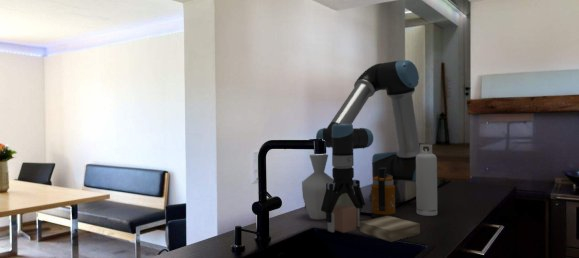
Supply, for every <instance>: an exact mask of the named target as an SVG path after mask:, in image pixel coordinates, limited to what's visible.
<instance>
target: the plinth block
mask: <svg viewBox="0 0 579 258" xmlns="http://www.w3.org/2000/svg"><path fill="white" fill-rule="evenodd" d="M359 233H361V234H365V235H368V236H370V237H374V238H377V239H381V240H383V241H386V242H390V243H393V242H396V241H399V240H400V239H401V240H404V239H407V237H408V238H411V237H415V236H419V235H421V223H419V222H414V221H411V220H406V219H403V218H399V217H396V216H395V217H391V216H385V217H380V218H372V219H368V220H362V221H360V226H359ZM401 240H400V241H401Z"/></svg>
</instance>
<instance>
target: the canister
mask: <svg viewBox="0 0 579 258" xmlns="http://www.w3.org/2000/svg"><path fill="white" fill-rule="evenodd" d="M386 171H387V169H386V167H380V169H379V172H378V176H377V177H374V178H373V177H372V184H371V186H370V187H371V189H370V193H371V192H372V202H371V217H373V219H375V218H380V217H385V216H391V217H395V218H396V204H395V186H394V185H393V178H392V176H391V175H389V177H388V174H387V173H386ZM386 175H387V176H386Z"/></svg>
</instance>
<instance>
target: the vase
mask: <svg viewBox="0 0 579 258" xmlns="http://www.w3.org/2000/svg"><path fill="white" fill-rule="evenodd" d="M316 154H317V153H316ZM316 154H313V153H312V154H309V158H310V161H311V165H312V168H313V169H312V170H313V172H312V173H311V174H310V175H308V176H307V177H306V178H305V179H304V180H303V181H301V190H302V200H303V203H304V206H305V208H306V211H307V214H308V216H309V218H310V219H311V220H319V221H320V220H326V212H323V211H321V207H322V204H323V200H324V196H325V192H326V184H327V183H333V181H334V179H333V177H332V176H330V175H329V174H327V173H326V172H325V169H326V166H327V161H328V158H329V154H325V153H322V154H323V155H316ZM333 190H334V189H333Z"/></svg>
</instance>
